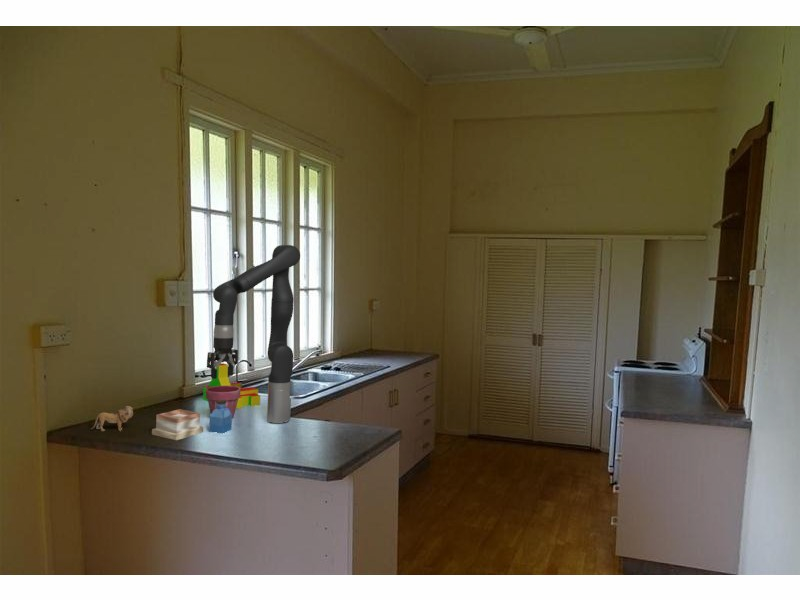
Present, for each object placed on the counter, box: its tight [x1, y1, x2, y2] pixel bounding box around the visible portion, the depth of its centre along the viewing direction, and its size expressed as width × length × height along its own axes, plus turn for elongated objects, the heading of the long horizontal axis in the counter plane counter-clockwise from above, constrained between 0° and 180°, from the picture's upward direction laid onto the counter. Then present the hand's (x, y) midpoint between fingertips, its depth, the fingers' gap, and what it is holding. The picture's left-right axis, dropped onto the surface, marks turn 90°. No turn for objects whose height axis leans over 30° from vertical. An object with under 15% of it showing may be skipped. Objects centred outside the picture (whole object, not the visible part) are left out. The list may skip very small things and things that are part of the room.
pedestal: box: [151, 408, 204, 441], centre depth 209 cm, size 13×13×8 cm
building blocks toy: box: [202, 362, 261, 409], centre depth 263 cm, size 19×25×18 cm
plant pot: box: [206, 386, 240, 420], centre depth 234 cm, size 14×14×13 cm
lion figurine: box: [90, 405, 134, 432], centre depth 210 cm, size 15×5×9 cm, turn 110°
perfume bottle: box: [208, 400, 233, 434], centre depth 215 cm, size 6×6×12 cm
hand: (222, 377), depth 215 cm, fingers open, 8 cm apart
